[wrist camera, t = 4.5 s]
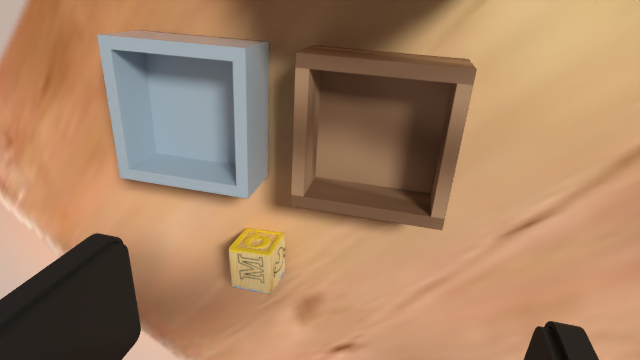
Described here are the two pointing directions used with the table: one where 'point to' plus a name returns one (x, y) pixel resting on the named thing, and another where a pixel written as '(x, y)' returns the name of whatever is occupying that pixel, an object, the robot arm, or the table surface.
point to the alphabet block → (257, 260)
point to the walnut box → (378, 133)
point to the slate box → (188, 109)
